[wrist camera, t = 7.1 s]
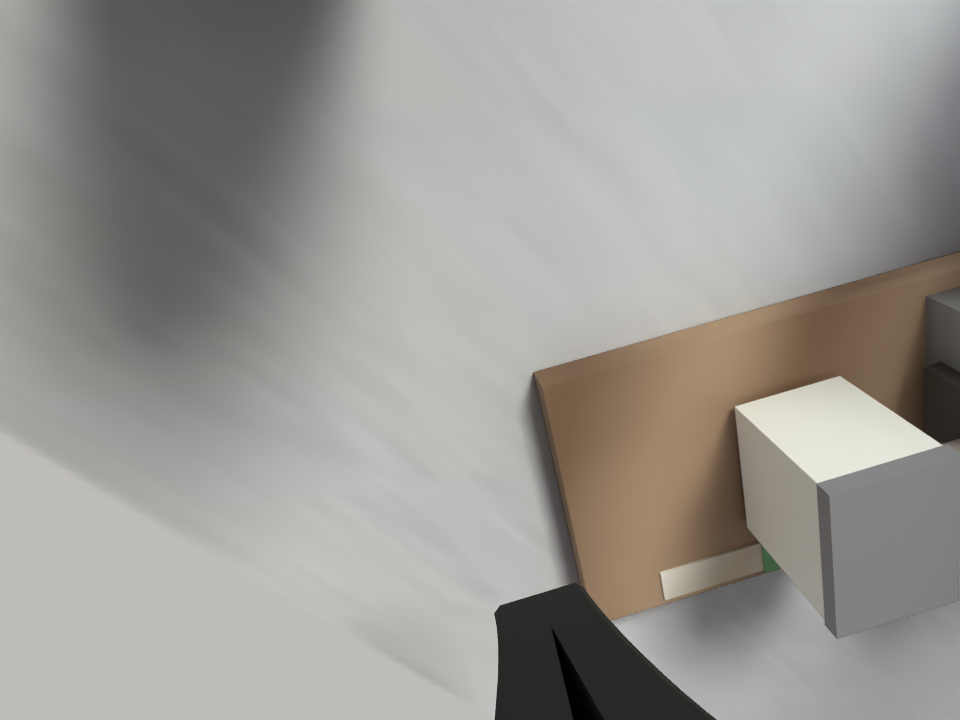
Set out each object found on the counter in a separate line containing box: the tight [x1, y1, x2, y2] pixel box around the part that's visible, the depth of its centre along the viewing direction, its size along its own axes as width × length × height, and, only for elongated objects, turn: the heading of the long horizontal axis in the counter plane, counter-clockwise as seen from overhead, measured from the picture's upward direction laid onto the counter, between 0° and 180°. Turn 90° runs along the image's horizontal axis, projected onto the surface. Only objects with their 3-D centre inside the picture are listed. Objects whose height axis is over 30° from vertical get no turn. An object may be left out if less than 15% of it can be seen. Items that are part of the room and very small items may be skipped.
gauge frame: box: [533, 252, 960, 621], centre depth 20 cm, size 14×8×6 cm, turn 103°
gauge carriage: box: [735, 376, 960, 639], centre depth 20 cm, size 3×6×4 cm, turn 13°
